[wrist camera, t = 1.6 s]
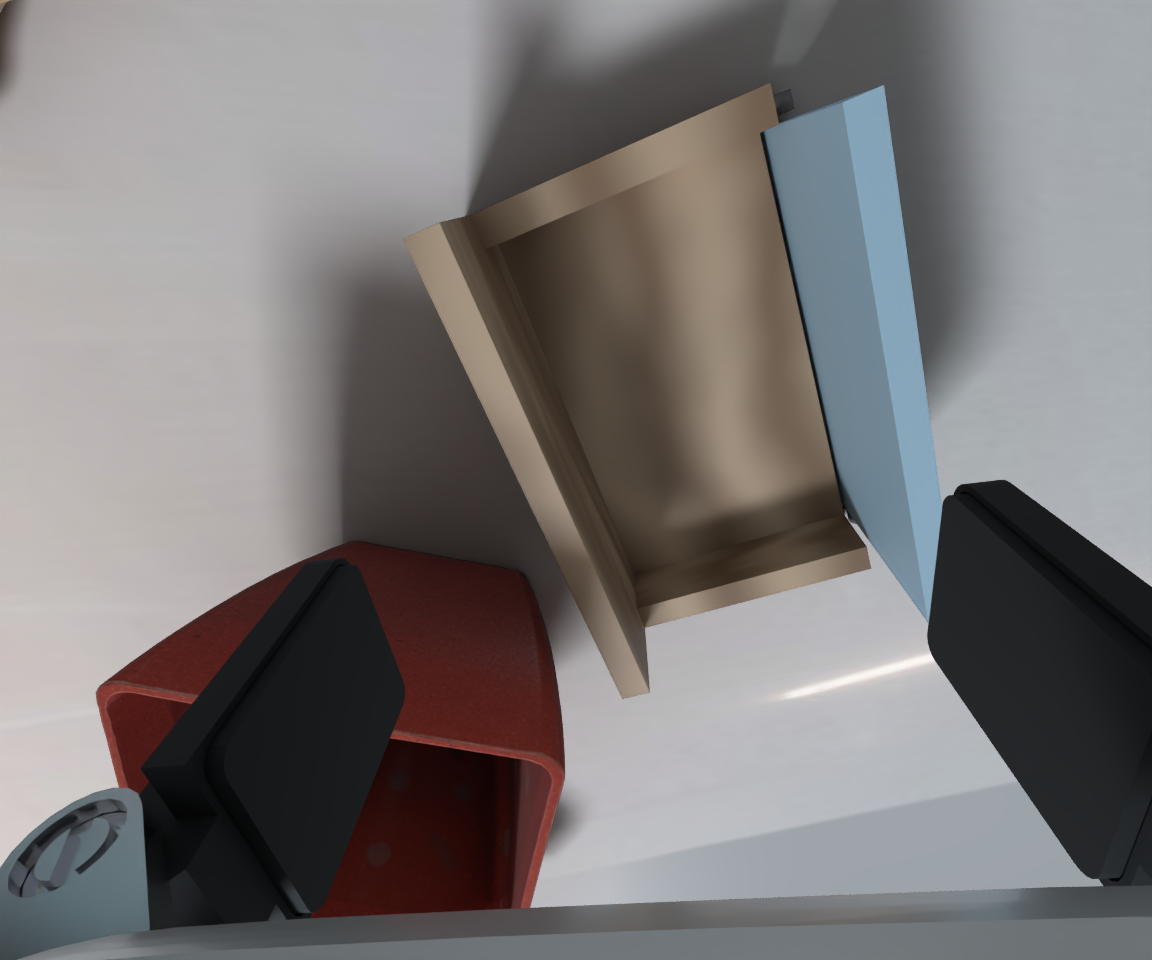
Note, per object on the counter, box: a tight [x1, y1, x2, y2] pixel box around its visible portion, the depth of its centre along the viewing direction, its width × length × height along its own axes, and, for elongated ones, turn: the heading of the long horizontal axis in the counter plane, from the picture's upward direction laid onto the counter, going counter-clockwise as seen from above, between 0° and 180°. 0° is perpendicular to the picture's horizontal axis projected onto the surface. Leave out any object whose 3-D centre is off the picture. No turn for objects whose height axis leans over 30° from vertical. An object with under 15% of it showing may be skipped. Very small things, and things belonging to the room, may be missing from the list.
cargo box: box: [403, 83, 871, 699], centre depth 29 cm, size 16×24×10 cm
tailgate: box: [761, 85, 942, 623], centre depth 27 cm, size 1×21×11 cm, turn 22°
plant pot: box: [96, 542, 565, 918], centre depth 35 cm, size 19×19×17 cm
